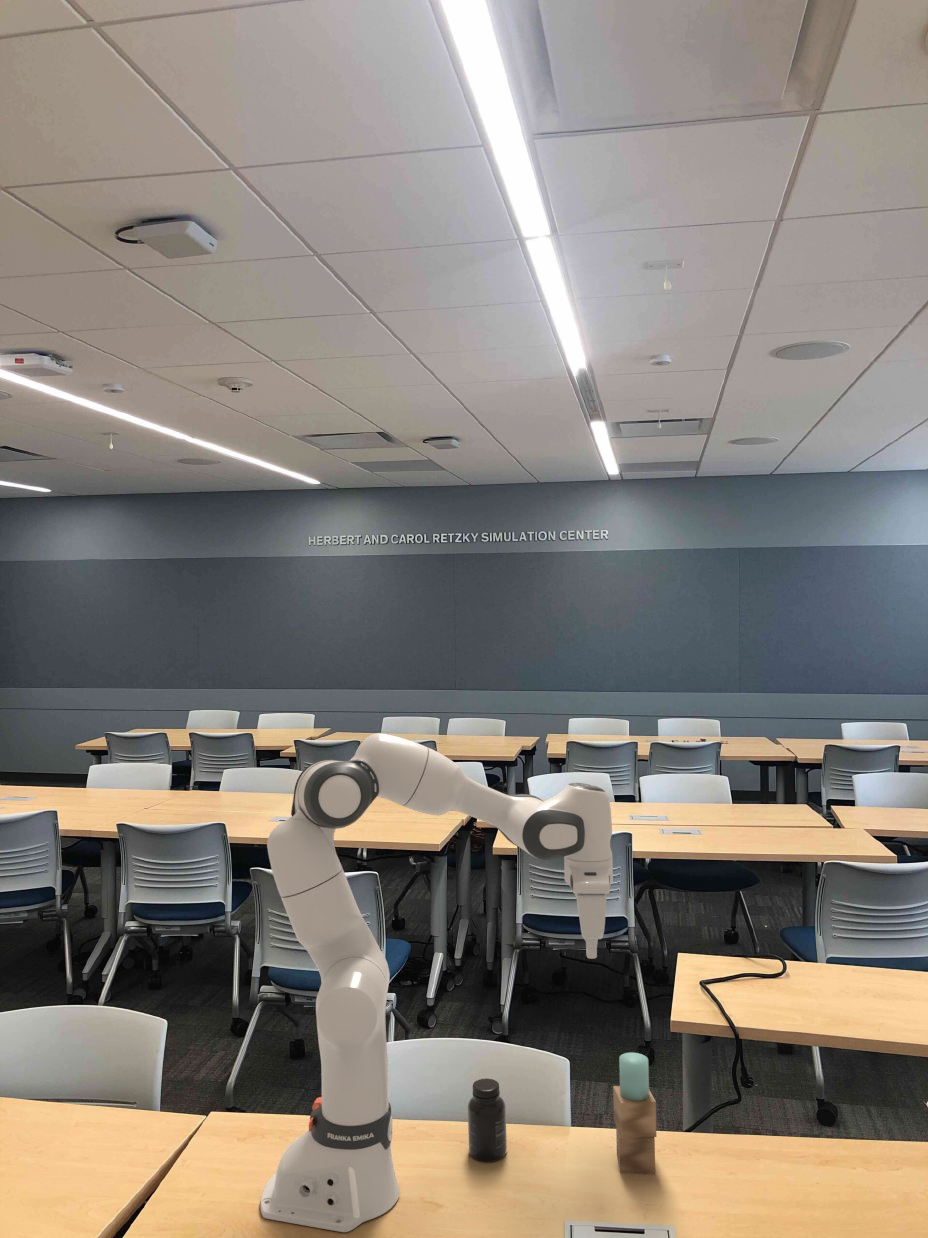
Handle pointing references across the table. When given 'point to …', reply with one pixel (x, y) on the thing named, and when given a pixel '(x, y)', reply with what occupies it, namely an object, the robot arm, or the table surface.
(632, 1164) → the tower base
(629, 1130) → the tower top
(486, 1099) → the supplement bottle
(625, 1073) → the teal rounded cylinder
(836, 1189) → the table surface
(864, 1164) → the table surface
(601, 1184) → the table surface
